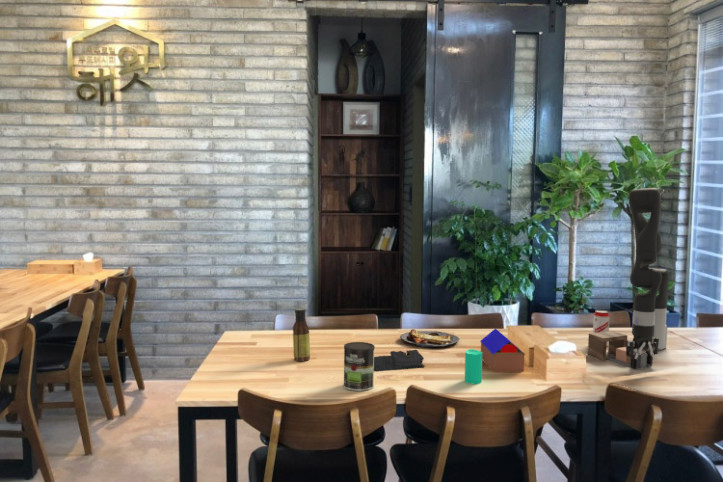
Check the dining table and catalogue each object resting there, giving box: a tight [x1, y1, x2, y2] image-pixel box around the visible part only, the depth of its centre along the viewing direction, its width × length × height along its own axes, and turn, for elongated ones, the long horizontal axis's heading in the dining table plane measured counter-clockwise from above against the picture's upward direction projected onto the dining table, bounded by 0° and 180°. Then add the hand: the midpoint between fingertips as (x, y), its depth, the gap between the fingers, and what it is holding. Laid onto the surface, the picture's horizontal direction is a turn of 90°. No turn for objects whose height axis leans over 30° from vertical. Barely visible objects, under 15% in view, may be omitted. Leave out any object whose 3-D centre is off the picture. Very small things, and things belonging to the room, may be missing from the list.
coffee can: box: [343, 341, 376, 392], centre depth 228 cm, size 10×10×14 cm
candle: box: [464, 348, 483, 385], centre depth 235 cm, size 6×6×12 cm
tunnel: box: [587, 330, 628, 361], centre depth 264 cm, size 12×8×10 cm, turn 114°
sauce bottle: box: [292, 307, 311, 363], centre depth 259 cm, size 7×6×20 cm
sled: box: [606, 352, 651, 370], centre depth 255 cm, size 7×14×6 cm, turn 24°
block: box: [615, 347, 636, 364], centre depth 256 cm, size 5×5×5 cm
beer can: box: [592, 309, 611, 349], centre depth 279 cm, size 6×6×16 cm
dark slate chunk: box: [374, 349, 426, 372], centre depth 256 cm, size 15×22×5 cm
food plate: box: [399, 329, 461, 348], centre depth 290 cm, size 25×23×4 cm
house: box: [480, 327, 525, 373], centre depth 257 cm, size 12×20×12 cm, turn 4°
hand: (641, 367), depth 249 cm, fingers closed on sled, 6 cm apart
